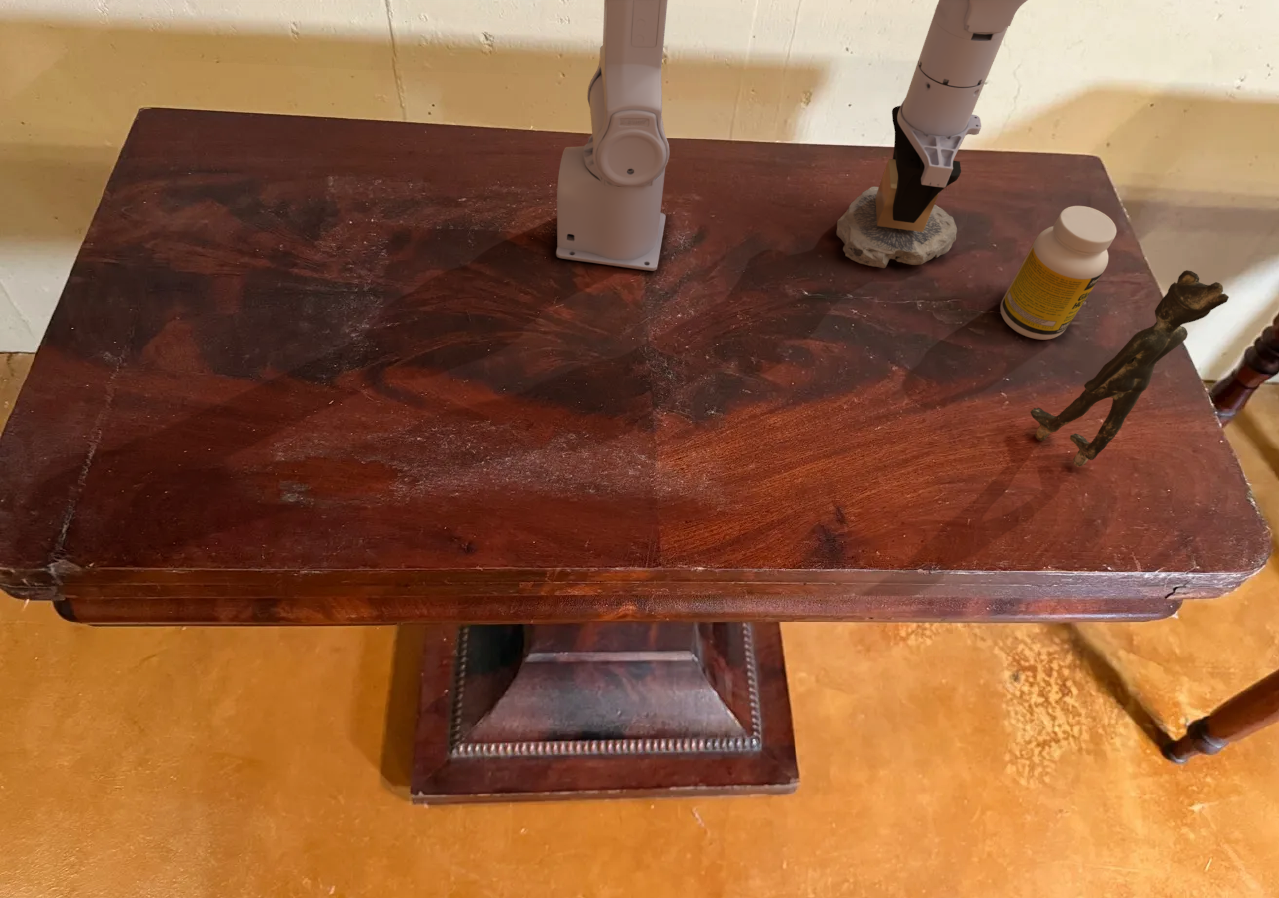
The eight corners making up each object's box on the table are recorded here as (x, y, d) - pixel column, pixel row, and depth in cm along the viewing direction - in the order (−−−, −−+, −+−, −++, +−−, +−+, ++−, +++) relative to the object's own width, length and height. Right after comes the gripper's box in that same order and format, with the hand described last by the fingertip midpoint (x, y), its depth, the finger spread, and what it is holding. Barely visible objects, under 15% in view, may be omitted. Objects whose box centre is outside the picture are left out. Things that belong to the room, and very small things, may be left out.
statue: (1050, 410, 76) (1182, 224, 59) (1104, 465, 72) (1259, 284, 56) (1009, 428, 74) (1133, 243, 58) (1062, 485, 71) (1209, 306, 55)
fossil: (871, 261, 81) (831, 177, 84) (852, 288, 84) (814, 205, 88) (972, 249, 85) (929, 168, 88) (949, 275, 88) (909, 196, 92)
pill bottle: (1062, 350, 80) (1125, 257, 71) (994, 330, 81) (1047, 235, 72) (1067, 305, 83) (1127, 211, 74) (1002, 286, 84) (1053, 191, 75)
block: (876, 226, 84) (890, 187, 80) (875, 196, 86) (888, 158, 83) (923, 232, 84) (938, 194, 80) (920, 202, 86) (935, 164, 83)
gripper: (1012, 126, 69) (950, 259, 79) (991, 29, 77) (938, 161, 88) (921, 114, 69) (872, 249, 80) (910, 18, 77) (868, 152, 88)
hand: (902, 202), depth 84 cm, fingers closed on block, 4 cm apart
